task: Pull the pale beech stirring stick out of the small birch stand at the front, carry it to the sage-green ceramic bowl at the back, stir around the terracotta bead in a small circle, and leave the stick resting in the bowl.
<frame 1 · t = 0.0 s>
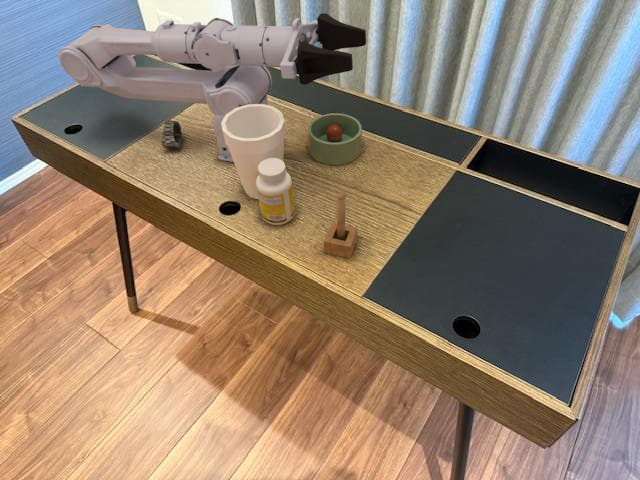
hand: (358, 49, 68), 22 cm above the table, tool horizontal, fingers open, 7 cm apart
stick: (341, 221, 69), in the stand
wristwatch: (176, 146, 91), on the table
supplement bottle: (278, 214, 78), on the table, touching foam cup
stand: (340, 245, 73), on the table
bowl: (335, 149, 89), on the table
foam cup: (263, 187, 82), on the table, touching arm, supplement bottle
bead: (334, 132, 89), point 2 cm above the table, touching bowl
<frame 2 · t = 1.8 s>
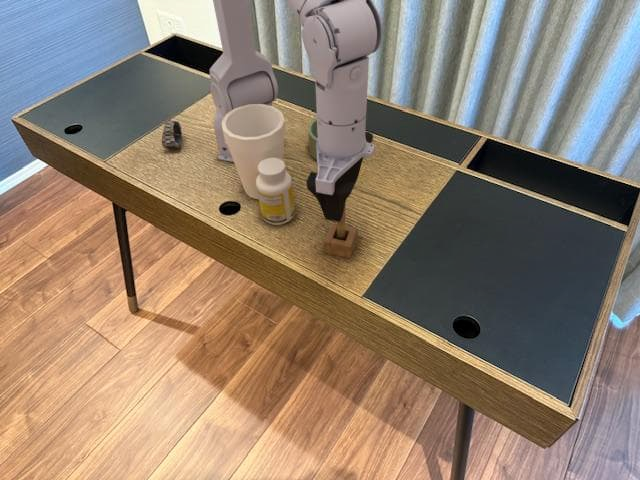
hand: (341, 199, 66), 9 cm above the table, tool pointing down, fingers open, 7 cm apart
supplement bottle: (278, 214, 78), on the table
foam cup: (263, 187, 82), on the table
everything else where it was.
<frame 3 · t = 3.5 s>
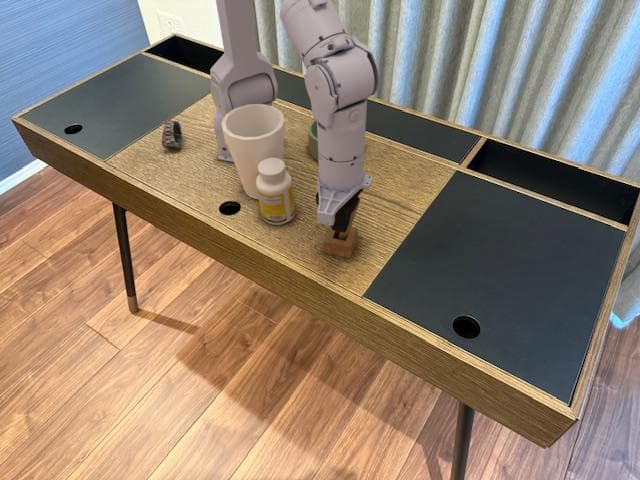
hand: (341, 225, 69), 4 cm above the table, tool pointing down, fingers closed on stick, 1 cm apart
stick: (347, 223, 69), in the stand, tilted 13°, touching gripper
everything else where it was.
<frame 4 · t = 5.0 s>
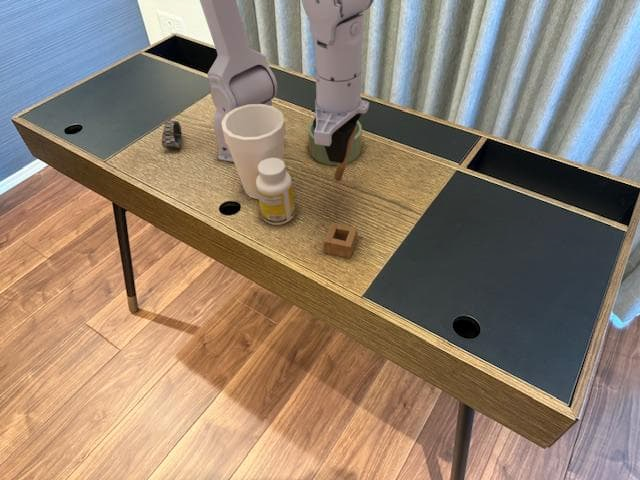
hand: (338, 157, 70), 10 cm above the table, tool pointing down, fingers closed on stick, 1 cm apart
stick: (345, 154, 70), point 11 cm above the table, tilted 13°, touching gripper
everything else where it was.
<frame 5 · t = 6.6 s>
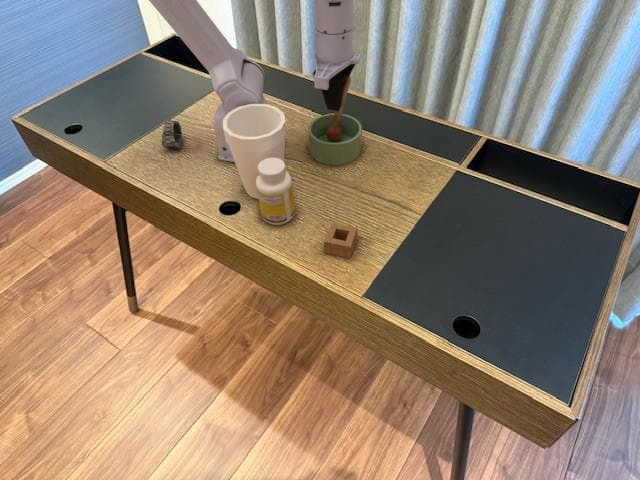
hand: (335, 106, 82), 9 cm above the table, tool pointing down, fingers closed on stick, 1 cm apart
stick: (341, 103, 81), point 10 cm above the table, tilted 13°, touching gripper
everything else where it was.
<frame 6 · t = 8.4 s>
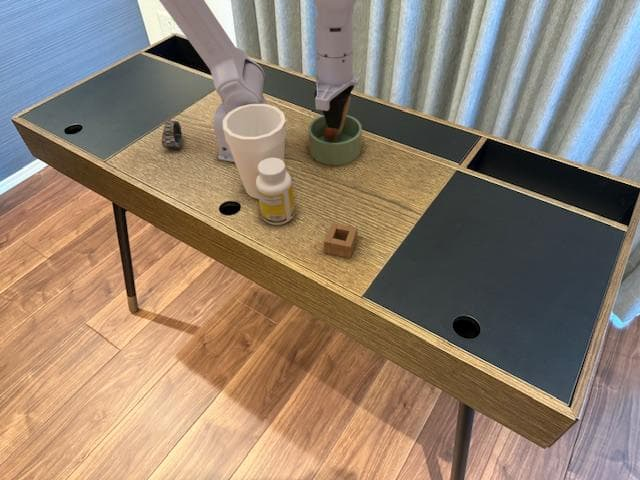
hand: (335, 124, 85), 5 cm above the table, tool pointing down, fingers closed on stick, 1 cm apart
stick: (341, 121, 84), in the bowl, point 6 cm above the table, tilted 13°, touching gripper
bead: (331, 133, 89), point 2 cm above the table, tilted 19°, touching bowl
everything else where it was.
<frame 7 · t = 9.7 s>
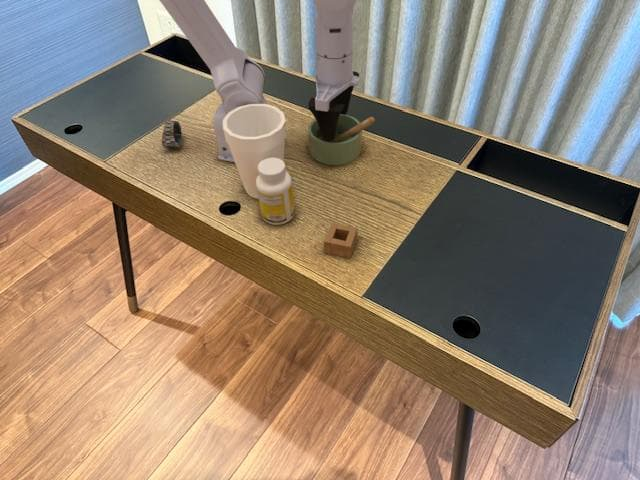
hand: (334, 125, 85), 5 cm above the table, tool pointing down, fingers open, 7 cm apart
stick: (351, 132, 85), in the bowl, tilted 48°
bead: (328, 132, 89), point 2 cm above the table, tilted 39°, touching bowl
everything else where it was.
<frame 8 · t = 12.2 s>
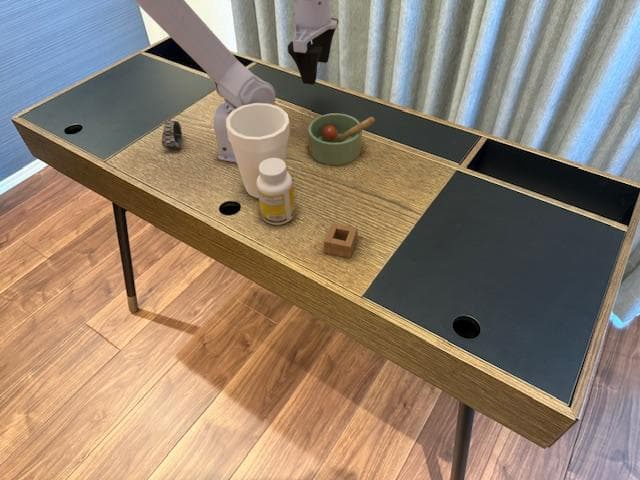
hand: (315, 72, 87), 10 cm above the table, tool pointing down, fingers open, 7 cm apart
supplement bottle: (278, 214, 78), on the table, touching foam cup
foam cup: (264, 186, 82), on the table, touching arm, supplement bottle
everything else where it was.
at the end: stick inside the target area in the bowl (0.9 cm from its centre), point 4.2 cm above the bowl's base; bead moved 0.9 cm from its start; bead inside the target area in the bowl (2.3 cm from its centre), point 2.0 cm above the bowl's base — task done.
